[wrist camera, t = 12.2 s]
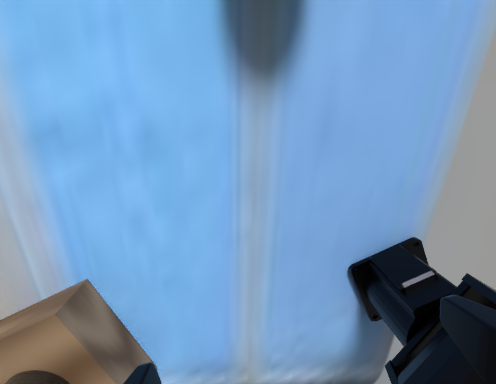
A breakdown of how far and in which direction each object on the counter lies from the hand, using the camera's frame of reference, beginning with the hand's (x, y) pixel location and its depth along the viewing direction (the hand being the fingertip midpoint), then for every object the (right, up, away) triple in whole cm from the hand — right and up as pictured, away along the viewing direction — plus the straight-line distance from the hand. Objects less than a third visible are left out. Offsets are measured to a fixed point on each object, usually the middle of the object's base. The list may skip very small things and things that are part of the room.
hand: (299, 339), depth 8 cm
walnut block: (-18, -10, +15) cm, 25 cm away
